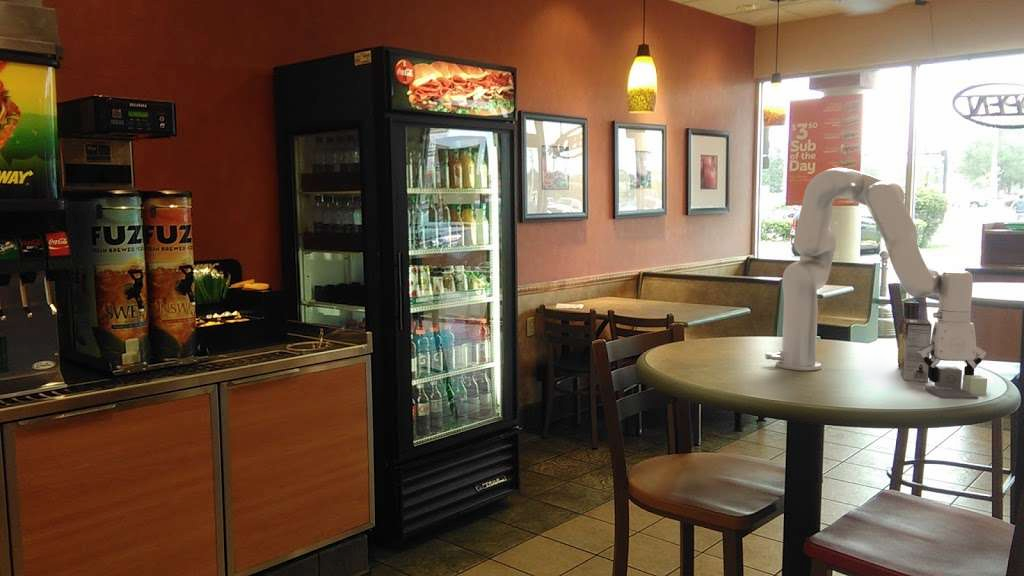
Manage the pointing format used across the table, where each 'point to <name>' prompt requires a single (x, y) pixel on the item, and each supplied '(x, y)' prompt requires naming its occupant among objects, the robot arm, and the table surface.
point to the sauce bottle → (909, 313)
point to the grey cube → (949, 377)
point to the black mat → (951, 393)
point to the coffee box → (915, 349)
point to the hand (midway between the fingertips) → (950, 381)
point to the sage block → (974, 384)
